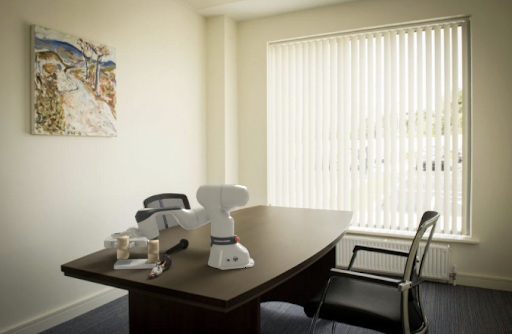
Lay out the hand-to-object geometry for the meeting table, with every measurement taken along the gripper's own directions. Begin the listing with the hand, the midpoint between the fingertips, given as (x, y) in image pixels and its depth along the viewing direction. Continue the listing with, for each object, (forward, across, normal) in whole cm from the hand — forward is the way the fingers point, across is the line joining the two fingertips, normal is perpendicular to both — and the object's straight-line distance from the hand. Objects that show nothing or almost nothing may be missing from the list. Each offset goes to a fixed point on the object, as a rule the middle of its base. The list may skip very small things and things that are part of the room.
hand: (122, 246), depth 176 cm
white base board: (-1, -7, -9) cm, 12 cm away
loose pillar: (-1, 0, -6) cm, 6 cm away
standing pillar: (-1, -14, -8) cm, 16 cm away
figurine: (+10, -18, -10) cm, 23 cm away
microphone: (-25, -22, -10) cm, 35 cm away
